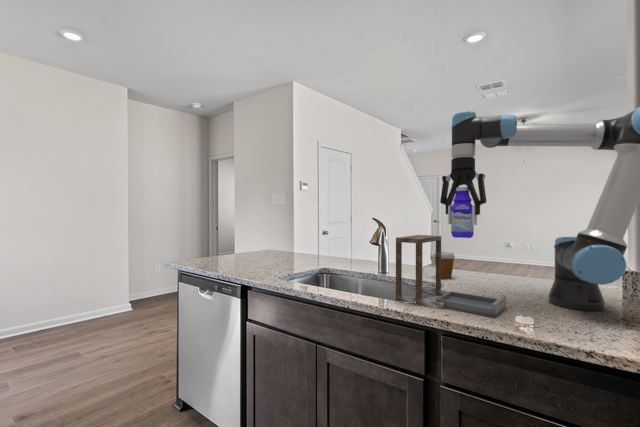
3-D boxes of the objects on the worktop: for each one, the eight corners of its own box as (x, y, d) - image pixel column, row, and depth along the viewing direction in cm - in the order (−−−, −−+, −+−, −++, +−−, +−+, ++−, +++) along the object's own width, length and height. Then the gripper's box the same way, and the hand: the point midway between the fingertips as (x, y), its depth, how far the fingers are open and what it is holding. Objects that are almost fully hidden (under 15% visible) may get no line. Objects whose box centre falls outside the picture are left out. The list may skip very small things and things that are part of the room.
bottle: (450, 237, 111) (451, 186, 111) (450, 236, 116) (451, 188, 116) (473, 238, 108) (474, 186, 108) (473, 237, 113) (474, 187, 113)
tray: (506, 307, 107) (506, 295, 107) (495, 318, 96) (495, 304, 96) (450, 298, 119) (450, 287, 119) (435, 306, 108) (435, 294, 108)
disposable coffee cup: (456, 280, 149) (457, 254, 149) (435, 279, 151) (435, 254, 151) (452, 276, 158) (452, 252, 158) (432, 276, 160) (432, 251, 160)
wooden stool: (461, 298, 119) (461, 237, 119) (441, 309, 105) (442, 240, 104) (418, 290, 130) (418, 234, 130) (395, 300, 115) (395, 237, 115)
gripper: (498, 156, 107) (497, 225, 108) (439, 162, 121) (438, 223, 121) (491, 153, 102) (490, 225, 102) (430, 159, 116) (429, 223, 116)
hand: (462, 224), depth 112 cm, fingers closed on bottle, 7 cm apart
